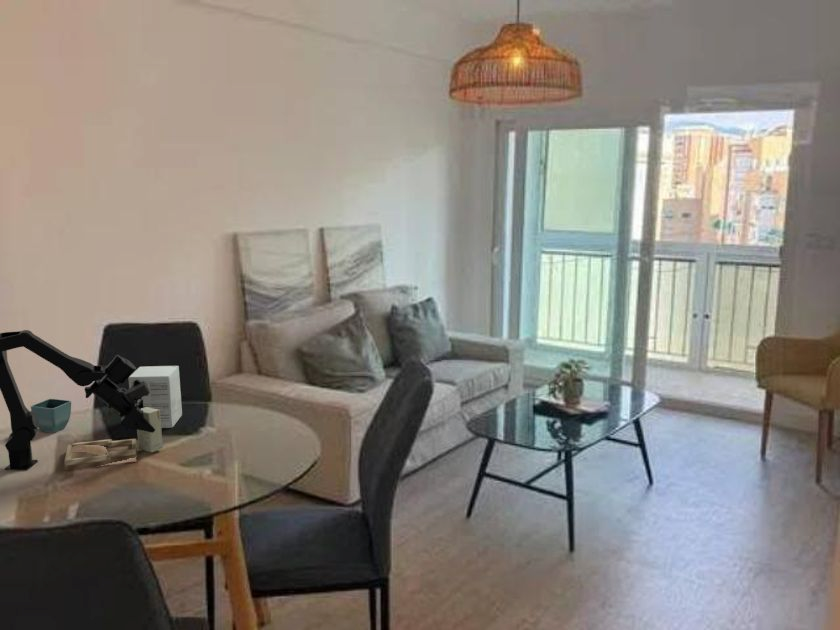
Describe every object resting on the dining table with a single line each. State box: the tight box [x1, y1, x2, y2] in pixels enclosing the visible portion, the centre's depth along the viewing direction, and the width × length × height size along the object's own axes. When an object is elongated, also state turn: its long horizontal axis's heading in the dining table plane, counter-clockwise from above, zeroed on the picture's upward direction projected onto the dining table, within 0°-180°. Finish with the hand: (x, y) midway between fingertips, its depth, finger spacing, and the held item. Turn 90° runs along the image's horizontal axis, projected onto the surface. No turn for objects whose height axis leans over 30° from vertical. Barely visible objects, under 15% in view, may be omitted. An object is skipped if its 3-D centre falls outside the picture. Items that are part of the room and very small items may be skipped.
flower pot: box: [30, 398, 72, 434], centre depth 252 cm, size 9×9×9 cm
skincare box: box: [136, 407, 164, 453], centre depth 233 cm, size 6×4×12 cm
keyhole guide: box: [63, 438, 138, 472], centre depth 230 cm, size 19×16×3 cm
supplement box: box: [127, 365, 183, 429], centre depth 259 cm, size 13×13×18 cm
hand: (154, 427), depth 234 cm, fingers closed on skincare box, 7 cm apart
